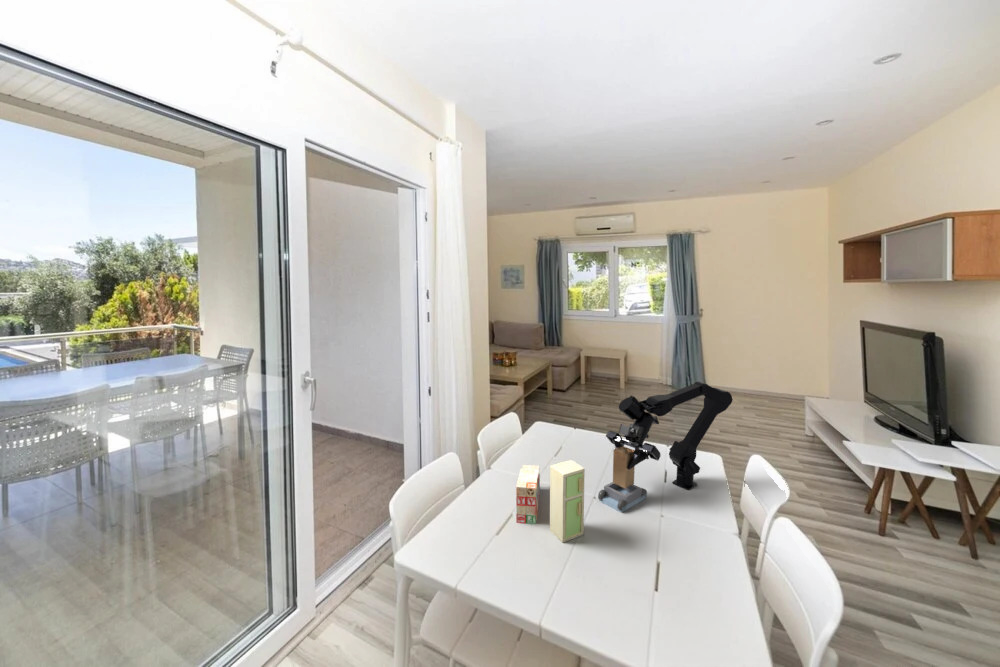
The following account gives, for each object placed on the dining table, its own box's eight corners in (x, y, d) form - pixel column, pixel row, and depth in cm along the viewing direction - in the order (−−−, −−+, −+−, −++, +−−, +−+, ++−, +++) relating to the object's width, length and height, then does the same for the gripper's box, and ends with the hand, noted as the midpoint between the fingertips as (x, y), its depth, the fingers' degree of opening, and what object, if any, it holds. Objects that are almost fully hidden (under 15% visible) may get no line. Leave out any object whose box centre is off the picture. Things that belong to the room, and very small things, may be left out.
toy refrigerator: (563, 544, 111) (564, 475, 108) (549, 530, 117) (549, 464, 115) (585, 536, 114) (586, 469, 112) (570, 523, 121) (571, 459, 118)
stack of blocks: (522, 488, 142) (522, 456, 141) (539, 489, 141) (540, 457, 140) (516, 523, 121) (516, 486, 120) (536, 525, 120) (536, 487, 119)
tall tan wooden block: (621, 478, 137) (622, 445, 135) (634, 483, 133) (634, 450, 131) (612, 482, 134) (613, 449, 132) (625, 488, 130) (626, 454, 128)
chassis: (624, 487, 142) (624, 475, 142) (646, 497, 135) (647, 485, 134) (598, 501, 133) (598, 489, 132) (620, 513, 126) (620, 500, 125)
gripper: (609, 408, 140) (589, 445, 135) (657, 422, 125) (636, 464, 120) (622, 424, 146) (602, 461, 141) (669, 439, 131) (649, 480, 126)
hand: (621, 466), depth 132 cm, fingers closed on tall tan wooden block, 5 cm apart
